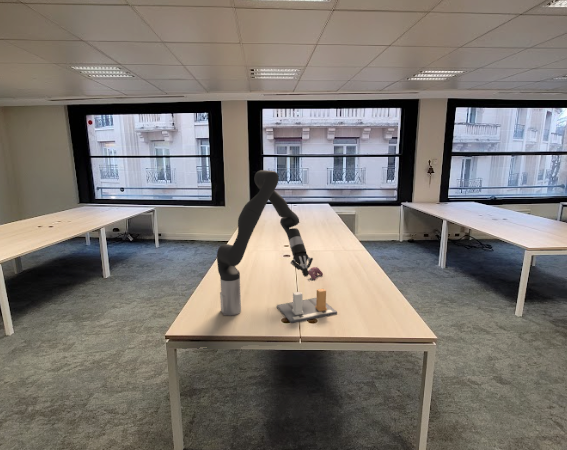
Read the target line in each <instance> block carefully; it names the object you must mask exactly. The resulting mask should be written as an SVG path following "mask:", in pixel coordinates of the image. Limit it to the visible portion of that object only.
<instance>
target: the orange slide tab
mask: <svg viewBox="0 0 567 450" xmlns="http://www.w3.org/2000/svg"><path fill="white" fill-rule="evenodd" d="M316 298H317V299H316V306H315V308H316V309H317V310H318V311H319V312H320V311H325V310H327V308H326V303H327V290H326V289H325V288H318V289H316Z"/></svg>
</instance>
